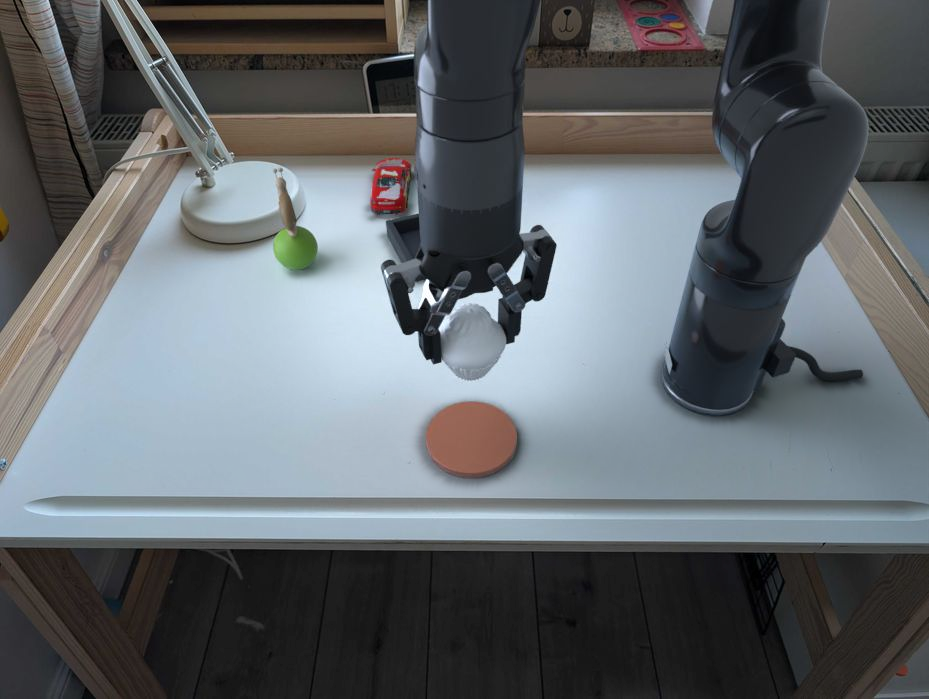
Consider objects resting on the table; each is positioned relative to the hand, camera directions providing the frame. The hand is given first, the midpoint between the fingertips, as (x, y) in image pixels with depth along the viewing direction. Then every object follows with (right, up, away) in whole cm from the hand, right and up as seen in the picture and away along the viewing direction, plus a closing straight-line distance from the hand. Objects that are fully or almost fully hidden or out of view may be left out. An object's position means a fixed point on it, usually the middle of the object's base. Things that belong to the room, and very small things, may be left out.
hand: (470, 346), depth 62 cm
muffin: (0, -2, +2) cm, 3 cm away
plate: (0, -9, +9) cm, 13 cm away
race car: (-11, +22, +41) cm, 48 cm away
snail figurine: (-22, +11, +30) cm, 39 cm away
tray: (-4, +13, +32) cm, 34 cm away
